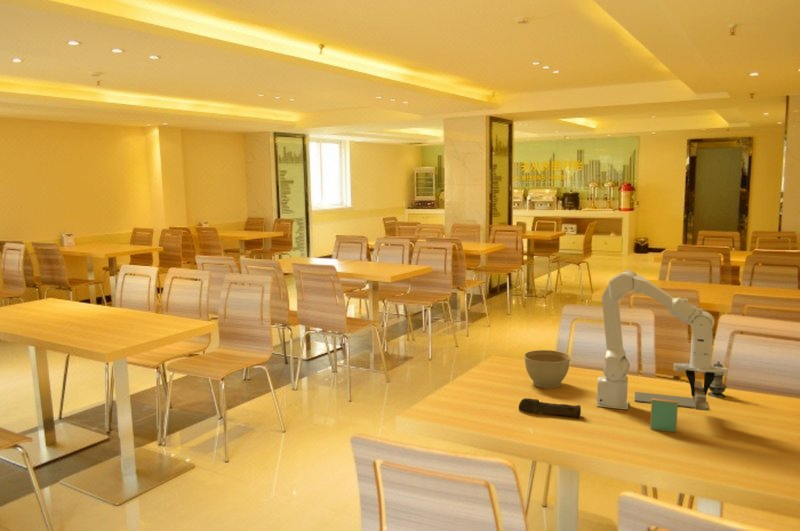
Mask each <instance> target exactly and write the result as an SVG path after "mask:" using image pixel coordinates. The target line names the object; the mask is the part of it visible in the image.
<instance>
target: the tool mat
mask: <svg viewBox="0 0 800 531" xmlns="http://www.w3.org/2000/svg"><path fill="white" fill-rule="evenodd" d="M652 398H655V399H664V400H673V401H678V407H679V408H680V407H681V408H689V409H696V408H695V404H694V400H693V397H687V396H680V395H679V396H677V395H671V394H670V395H669V394H658V393H650V392H649V393H648V392H640V391H635V392H634V402H635V403H636V402H637V403H643V404H651V400H652ZM706 410H707V411H709V406H708V402H707V401H706V408H705V411H706Z"/></svg>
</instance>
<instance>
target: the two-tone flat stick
mask: <svg viewBox="0 0 800 531" xmlns="http://www.w3.org/2000/svg"><path fill="white" fill-rule="evenodd" d="M703 387H704V385H703V383H702V381H701V380H695V385H694V389H695V394H694V396H692V398H693V400H694V404H695V408H694V409H695V410H698V411H703V412H705V411H706V410H705V408H706V402H707V394H706V395H705V392H704V389H703Z"/></svg>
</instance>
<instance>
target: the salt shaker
mask: <svg viewBox="0 0 800 531" xmlns="http://www.w3.org/2000/svg"><path fill="white" fill-rule="evenodd" d="M713 366H716V367H722V368H724V366H723V365H722V363H720V361H717V363H714V364H713ZM723 379H724V376H723V375H719V374H715V378H714V380H713V382H712V383H711V385H710V387H709V389H708V390H709V391H710V392H707V395H708V396H710V397H712V398H717V399H724V398H725V397H726V395H725V394H724V392H725V391H726V388H727V387H728V386H727V385H726V384H724V382H723Z"/></svg>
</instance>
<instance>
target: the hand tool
mask: <svg viewBox="0 0 800 531" xmlns="http://www.w3.org/2000/svg"><path fill="white" fill-rule="evenodd" d="M518 411H519V412H522V411H523V413H526V412H527V414H528V413H529V414H532V413H533V415H538V414H546V415H547V414H548V415H558V416H564V417H571V418H572V417H574V418H577V419H578V420H579V419H580V417H581V413H582V408H581V405H580V404H579V405H578V404H577V405H572V404H571V405H570V404H566V403H565V404H564V403H559V404H558V403H553V402H552V403H550V402H545V401H544V402H543V401H540V400H539V399H537V398H536V399H535V398H530V397H529V398H525V397H524V398H523V399H521V400H520V402H519V403H518Z"/></svg>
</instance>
